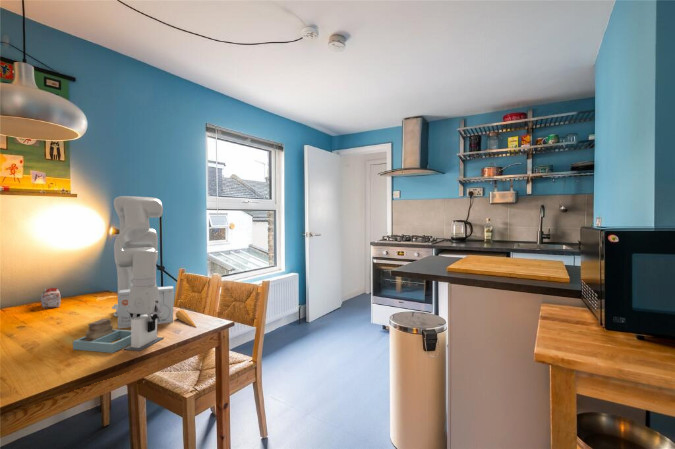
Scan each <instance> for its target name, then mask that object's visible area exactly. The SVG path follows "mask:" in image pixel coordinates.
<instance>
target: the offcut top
mask: <svg viewBox="0 0 675 449" xmlns="http://www.w3.org/2000/svg"><path fill="white" fill-rule="evenodd" d="M111 325H112V319H111V318H100V319H99V320H96V321H93V322H89V323H88V330H89V331H99V330H101V329H104V328H106V327H109V326H111Z"/></svg>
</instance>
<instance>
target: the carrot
mask: <svg viewBox="0 0 675 449" xmlns="http://www.w3.org/2000/svg"><path fill="white" fill-rule="evenodd" d="M175 318H176V319H177V320H179V321H181V322H183V323H185V324H188V326H192V327H194V328H197V326H196V323H195V322H194V321H193V320H192V318H191V317H190V316H189V315H188V313H187V312H186V311H185V310H183V309H179V310H177V311H175Z"/></svg>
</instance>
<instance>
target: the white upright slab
mask: <svg viewBox="0 0 675 449" xmlns="http://www.w3.org/2000/svg"><path fill="white" fill-rule="evenodd" d="M151 315H152V314H151ZM152 316H153V315H152ZM148 322H149V319H148V315H147V314H145V315H142V316H140V317H137V318H134V319H132V320H131V327H130V331H131V344H130V345H131V347H135V348H140V347H142V346H144V345H146V344H147V343H149V342H151V341H153V340H155V339H157V337H158V324H157V319H156V320H155V330H154V331H152V332H148V331H147V323H148Z"/></svg>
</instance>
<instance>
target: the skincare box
mask: <svg viewBox="0 0 675 449" xmlns="http://www.w3.org/2000/svg"><path fill="white" fill-rule="evenodd" d="M158 291H159V299H160V307H161V309H162V310H163V313H162V314H161V315H159V317H158V318H157V325H160V324H169V323H173V322H174V285H173V286H172V285H168V286H158ZM129 292H130V289H127V290H119V292H118V291H117V304H118V317H117V330H121V329H127V328H131V320H132V317H131V316H130V314H129V313H128V312H127V311H126V310H127V308H128V299H129ZM156 313H157V311H156ZM142 315H145V314H141V316H142Z"/></svg>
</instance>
